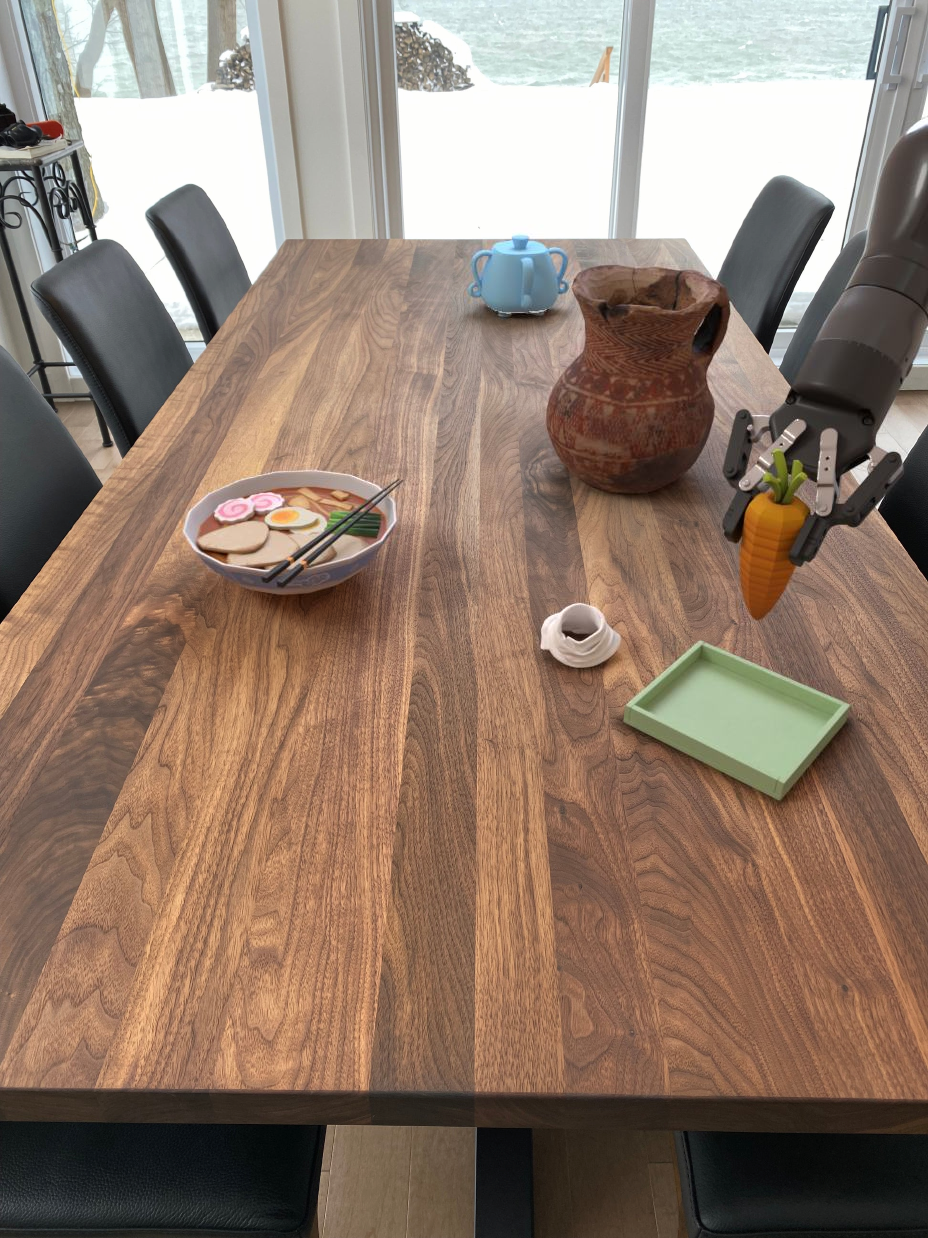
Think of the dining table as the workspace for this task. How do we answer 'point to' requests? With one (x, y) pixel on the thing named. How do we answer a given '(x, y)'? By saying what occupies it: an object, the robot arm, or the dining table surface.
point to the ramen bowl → (291, 529)
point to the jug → (639, 377)
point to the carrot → (771, 538)
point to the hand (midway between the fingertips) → (762, 550)
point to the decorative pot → (519, 276)
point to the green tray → (738, 717)
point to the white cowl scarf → (579, 622)
